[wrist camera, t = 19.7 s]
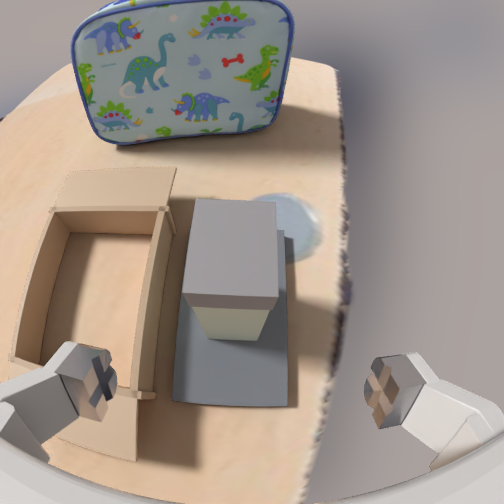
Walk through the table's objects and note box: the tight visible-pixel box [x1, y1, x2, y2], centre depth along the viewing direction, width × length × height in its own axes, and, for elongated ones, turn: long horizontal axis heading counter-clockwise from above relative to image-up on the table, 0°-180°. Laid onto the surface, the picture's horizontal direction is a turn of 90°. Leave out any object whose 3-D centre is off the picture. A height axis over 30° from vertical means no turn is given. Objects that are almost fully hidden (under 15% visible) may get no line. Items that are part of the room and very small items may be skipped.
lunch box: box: [70, 0, 295, 145], centre depth 27 cm, size 26×11×21 cm, turn 97°
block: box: [182, 199, 279, 341], centre depth 18 cm, size 5×4×11 cm
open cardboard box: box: [8, 167, 177, 462], centre depth 22 cm, size 26×14×4 cm, turn 179°
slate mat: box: [172, 226, 288, 406], centre depth 23 cm, size 16×9×1 cm, turn 179°
